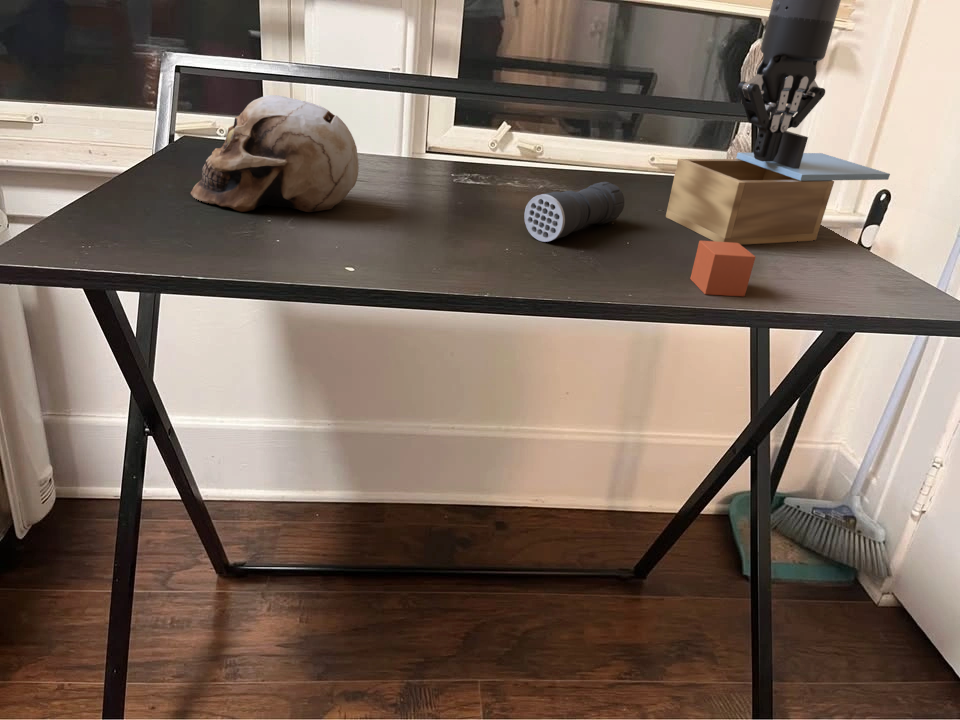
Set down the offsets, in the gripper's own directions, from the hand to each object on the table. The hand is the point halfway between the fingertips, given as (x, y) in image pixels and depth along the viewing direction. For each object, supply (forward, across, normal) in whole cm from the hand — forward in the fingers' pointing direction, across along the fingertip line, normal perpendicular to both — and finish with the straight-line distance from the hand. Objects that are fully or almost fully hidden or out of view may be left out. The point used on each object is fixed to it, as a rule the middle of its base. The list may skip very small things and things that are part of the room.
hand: (763, 160), depth 97 cm
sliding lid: (+1, +9, 0) cm, 9 cm away
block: (+9, -20, -18) cm, 28 cm away
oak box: (+9, -1, 0) cm, 9 cm away
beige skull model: (+10, -60, +17) cm, 63 cm away
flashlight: (+10, -26, +2) cm, 28 cm away
